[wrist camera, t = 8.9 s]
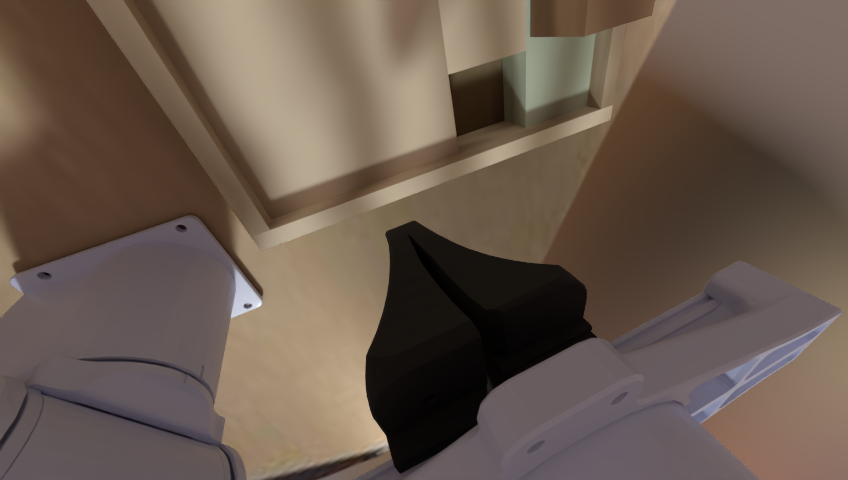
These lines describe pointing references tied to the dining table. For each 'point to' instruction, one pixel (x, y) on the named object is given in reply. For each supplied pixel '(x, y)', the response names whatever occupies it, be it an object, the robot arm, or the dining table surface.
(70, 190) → the dining table surface
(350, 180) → the box
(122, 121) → the dining table surface
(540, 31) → the walnut block
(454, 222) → the dining table surface
